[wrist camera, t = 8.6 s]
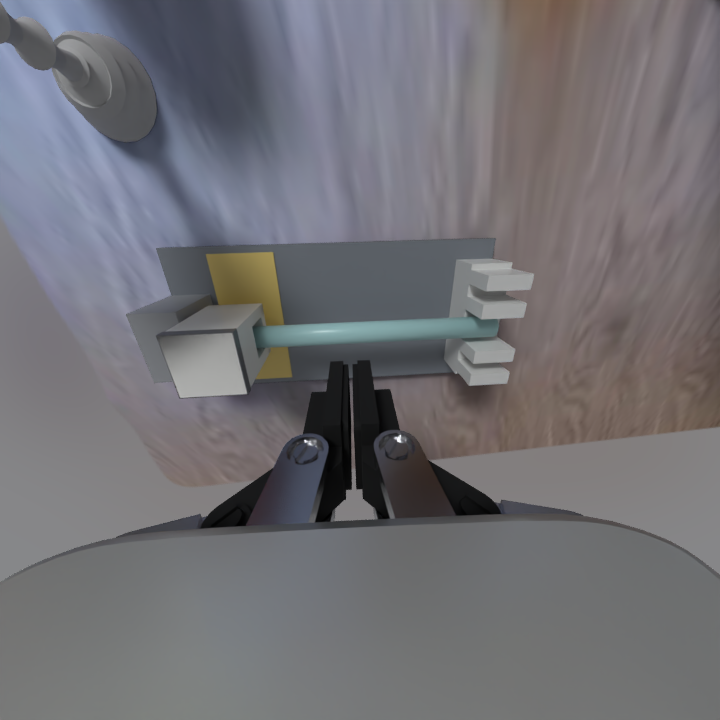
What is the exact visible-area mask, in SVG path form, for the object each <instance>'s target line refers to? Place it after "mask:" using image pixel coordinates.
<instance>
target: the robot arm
mask: <svg viewBox="0 0 720 720" xmlns="http://www.w3.org/2000/svg"><path fill="white" fill-rule="evenodd" d="M352 369H353V413H354V442H355V466H356V488H357V489H362V490H363V499H364V500H365V501H367V502H368V503H369V504H370V505H371V506H373V507H374V516H375V520H355V521H334V519H335V508H336V507H337V506H338V505H339V504H340V503H341V502H342V501H343V500H346V490H351V489H352V481H351V480H352V472H351V408H350V387H349V367H348V364H344V363H343V361H330V368H329V376H328V383H327V391H326V392H312V394H311V398H310V403H309V408H308V413H307V417H306V422H305V427H304V432H303V434H302V435H298V436H296V437H294V438H292V439H291V440H290V441H288V442H287V443H286V444H285V446H284V447H283V449H282V451H281V453H280V455H279V457H278V459H277V462H276V464H275V466H274V468H272V469H271V470H270V471H268V472H267V473H265V474H264V475H262V476H261V477H259V478H258V479H257V480H255V481H254V482H252V483H251V484H249V485H248V486H246V487H245V488H244V489H242V490H241V491H239V492H238V493H237V494H235V495H233V496H232V497H231V498H229V499H228V500H226V501H225V502H223V503H222V504H221V505H219V506H218V507H216V508H215V509H214V510H213V511H212V512H211V513H210V514H209V515H208V516H206V517H201V514H198V515H195V516H190V517H186V518H182V519H178V520H175V521H171V522H167V523H163V524H159V525H155V526H151V527H147V528H143V529H139V530H136V531H132V532H128V533H125V534H123V535H120V536H118V537H116V538H112V539H107V540H102V541H99V542H95V543H91V544H88V545H84V546H80V547H77V548H74V549H71V550H69V551H66V552H63V553H61V554H58V555H55V556H52V557H50V558H47V559H44V560H42V561H40V562H37V563H35V564H33V565H31V566H29V567H27V568H25V569H23V570H21V571H19V572H17V573H15V574H13V575H11V576H9V577H8V578H6V579H5V580H3V581H1V582H0V720H720V575H719V574H718V573H717V572H716V571H714V570H713V569H712V568H711V567H709V566H708V565H706V564H705V563H704V562H703V561H701V560H700V559H699V558H697V557H696V556H694V555H693V554H691V553H690V552H689V551H687V550H685V549H684V548H682V547H680V546H678V545H676V544H674V543H673V542H671V541H668V540H666V539H664V538H661V537H659V536H657V535H654V534H652V533H649V532H646V531H644V530H640V529H637V528H634V527H630V526H627V525H623V524H620V523H617V522H613V521H609V520H603V519H598V518H592V517H587V516H583V515H581V514H578V513H575V512H572V511H567V510H561V509H555V508H549V507H543V506H537V505H531V504H525V503H518V502H513V501H506V500H501V503H495V502H493V501H492V499H490V498H489V497H488V496H486V495H485V494H483V493H482V492H480V491H479V490H477V489H475V488H474V487H472V486H470V485H469V484H467V483H465V482H464V481H462V480H460V479H459V478H457V477H455V476H454V475H452V474H450V473H449V472H447V471H445V470H444V469H442V468H440V467H439V466H437V465H435V464H434V463H432V462H430V461H429V460H427V458H426V456H425V454H424V452H423V450H422V448H421V446H420V444H419V442H418V441H417V439H416V438H415V437H414V436H412V435H411V434H409V433H407V432H405V431H400V429H399V425H398V420H397V416H396V412H395V408H394V403H393V399H392V395H391V391H390V389H382V390H374V384H373V377H372V370H371V363H370V360H357V364H352Z"/></svg>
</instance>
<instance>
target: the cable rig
mask: <svg viewBox="0 0 720 720" xmlns="http://www.w3.org/2000/svg"><path fill="white" fill-rule="evenodd" d="M495 240H496V238H477V239H443V240H408V241H374V242H340V243H305V244H271V245H237V246H202V247H168V248H156V250H157V253H158V256H159V259H160V262H161V265H162V268H163V271H164V274H165V277H166V280H167V283H168V286H169V289H170V292H171V295H172V296H169V297H167V298H165V299H162V300H160V301H157V302H155V303H152V304H150V305H147V306H145V307H142V308H140V309H138V310H135V311H133V312H130V313H128V314H126V316H127V318H128V321H129V323H130V326H131V328H132V330H133V333H134V335H135V337H136V340H137V342H138V345H139V347H140V349H141V352H142V354H143V357H144V359H145V361H146V364H147V366H148V369H149V371H150V373H151V376H152V378H153V381H154V383H160V382H173V380H172V377H171V375H170V372H169V369H168V367H167V364H166V362H165V359H164V356H163V354H162V351H161V348H160V346H159V343H158V341H157V338H156V335H157V334H159V333H161V332H165V331H167V330H168V329H170V328H172V327H173V326H175V325H177V324H178V323H180V322H182V321H183V320H185V319H187V318H188V317H190V316H192V315H193V314H195V313H197V312H198V311H200V310H202V309H203V308H205V307H207V306H208V305H232V304H257V303H262V306H263V311H264V317H265V322H266V326H253V327H252V329H253V333H254V338H255V343H256V348H270V349H271V352H270V353H269V355H268V357H267V359H266V361H265V362H264V364H263V366H262V368H261V370H260V372H259V373H258V375H257V377H256V379H255V381H254V383H271V382H288V381H306V380H324V379H328V376H329V368H330V361H343V363H344V364H348V367H349V378H353V369H352V364H357V360H370V363H371V370H372V377H378V376H396V375H414V374H432V373H450V372H454V373H455V374H460V375H461V376H462V378H463V379H464V380H465V381H466V383H467V384H468V385H469V386H473V385H490V384H507V381H508V377H509V373H510V372H509V371H508V370H506V369H505V368H504V367H503V366H502V365H501V364H499V363H498V362H512V361H513V357H514V353H515V349H514V348H513V347H511V346H510V345H508V344H507V343H505V342H504V341H503V340H501V339H500V338H498V337H497V333H498V328H499V324H500V319H503V318H523V317H524V313H525V309H526V305H527V303H525V302H523V301H520V300H518V299H515V298H513V297H510V296H508V295H506V291H511V290H530V289H531V286H532V282H533V278H534V274H532V273H528V272H524V271H520V270H516V269H511V267H512V262H507V261H502V260H497V259H492V256H493V251H494V245H495Z"/></svg>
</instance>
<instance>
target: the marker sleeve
mask: <svg viewBox="0 0 720 720" xmlns="http://www.w3.org/2000/svg"><path fill="white" fill-rule="evenodd" d="M253 326H266V322H265V317H264V311H263V306H262V303H257V304H232V305H208V306H207V307H205V308H203V309H202V310H200V311H198V312H197V313H195V314H193V315H192V316H190V317H188V318H187V319H185V320H183V321H182V322H180V323H178V324H177V325H175V326H173V327H172V328H170V329H168V330H167V331H165V332H161V333H159V334H157V335H156V338H157V341H158V343H159V346H160V348H161V351H162V354H163V356H164V359H165V362H166V364H167V367H168V369H169V372H170V375H171V377H172V380H173V383H174V385H175V388H176V390H177V393H178V396H179V398H180V399H181V398H199V397H216V396H233V395H248V394H249V392H250V390H251V386H252V384H253V383H254V381H255V379H256V377H257V375H258V373H259V372H260V370H261V368H262V366H263V364H264V362H265V361H266V359H267V357H268V355H269V353H270V352H271V349H270V348H256V343H255V338H254V333H253V329H252V327H253Z"/></svg>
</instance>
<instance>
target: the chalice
mask: <svg viewBox="0 0 720 720" xmlns="http://www.w3.org/2000/svg"><path fill="white" fill-rule="evenodd" d="M4 42H7V43H11V44H12V45H13V46H14V47H15V49H16V51H17V53H18V54H19V55H20V57H21V58H22V59H23V60H24V61H25V62H26V63H27V64H28V65H30V66H32V67H33V68H35V69H38V70H48V69H50V68H51V67H52V72H53V75H54V77H55V80H56V82H57V84H58V86H59V88H60V90H61V91H62V93H63V94H64V95H65V97H66V98H67V100H68V101H69V102H70V103H71V104H72V105H74V106H75V108H76V109H77V110H78V111H79V112H80V113H81V114H82V115H83V116H84V118H85V119H86V120H87V121H88V122H89V123H90V124H91V125H92V126H93V127H94V128H96V129H97V130H98V131H99V132H101V133H102V134H104V135H106V136H108V137H109V138H111V139H114V140H118V141H122V142H134V141H138V140H140V139H142V138H143V137H145V136H147V135H148V133H149V132H150V130H151V129H152V127H153V126H154V123H155V118H156V114H157V105H156V95H155V92H154V89H153V86H152V82H151V79H150V77H149V76H148V74H147V72H146V71H145V69H144V67H143V65H142V64H141V62H140V61H139V60H138V59H137V58H136V57H135V55H134V54H133V53H132V52H131V51H130V50H129V49H128V48H127V47H125V46H124V45H122V44H121V43H119V42H118V41H116V40H115V39H113V38H111V37H108V36H104V35H101V34H91V33H88V32H83V33H82V32H79V31H67V32H64V33H62V34H61V35H60V36H58V37H57V38H56V39H55V40H54V42H53V40H52V38H51V36H50V35H49V33H48V32H47V30H46V29H45V28H44V27H43V26H42V25H41V24H40V23H39V22H37V21H35V20H34V19H32V18H28V17H19V18H17V19H13V18H12V17H11V16H10V15H9V14H8V13H7V12H6V10H5V8H4V7H3V6H2V4H1V3H0V44H1V43H4Z"/></svg>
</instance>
